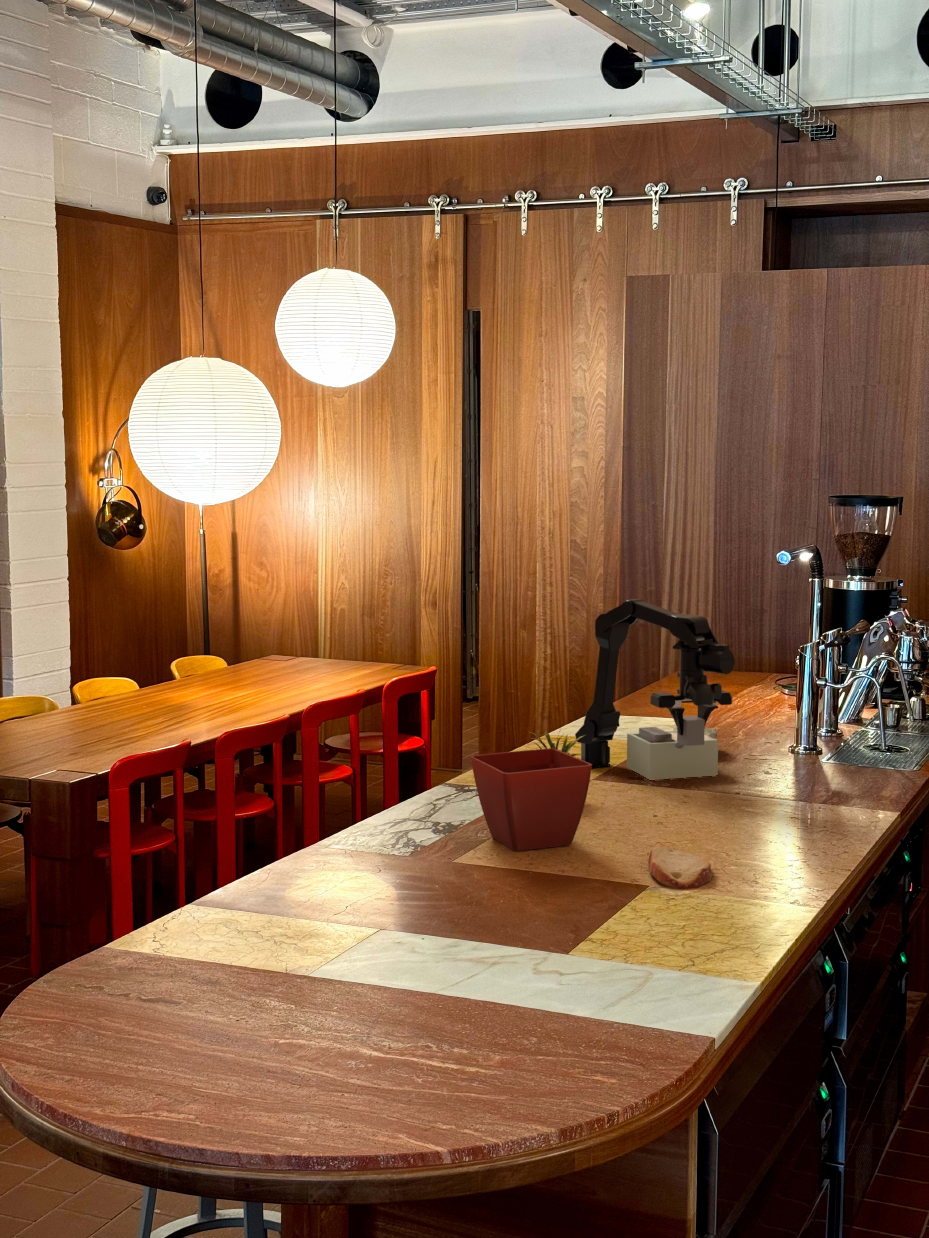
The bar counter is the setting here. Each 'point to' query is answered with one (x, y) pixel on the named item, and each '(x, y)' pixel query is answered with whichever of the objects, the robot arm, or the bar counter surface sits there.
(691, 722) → the grey block
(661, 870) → the bread slice
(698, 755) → the pale green open box
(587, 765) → the plant pot
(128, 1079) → the bar counter surface
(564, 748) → the house plant
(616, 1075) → the bar counter surface
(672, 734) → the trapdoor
